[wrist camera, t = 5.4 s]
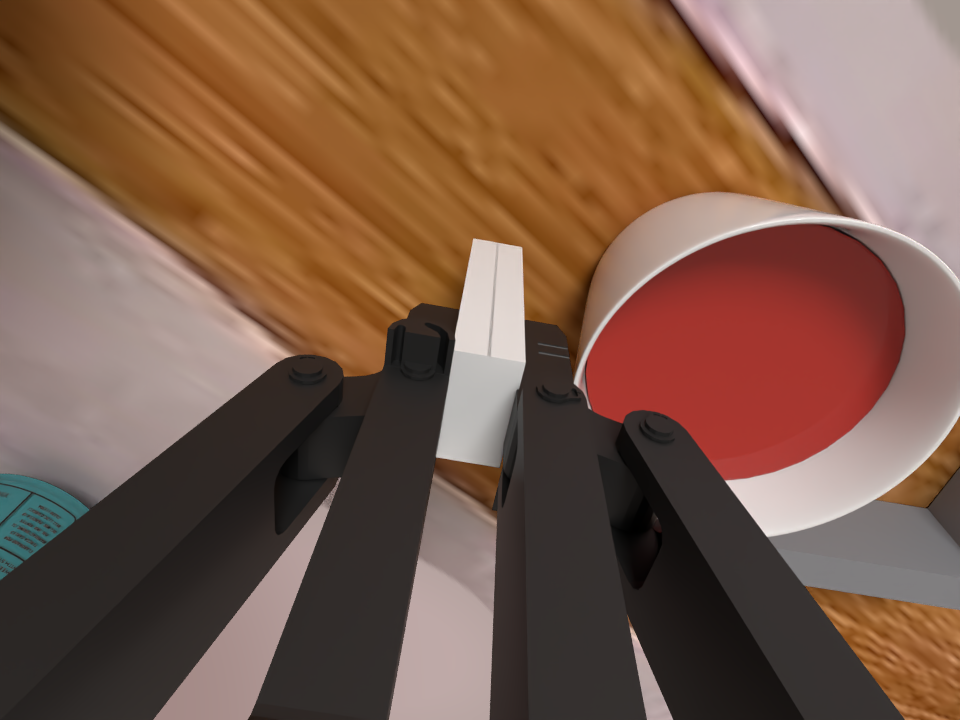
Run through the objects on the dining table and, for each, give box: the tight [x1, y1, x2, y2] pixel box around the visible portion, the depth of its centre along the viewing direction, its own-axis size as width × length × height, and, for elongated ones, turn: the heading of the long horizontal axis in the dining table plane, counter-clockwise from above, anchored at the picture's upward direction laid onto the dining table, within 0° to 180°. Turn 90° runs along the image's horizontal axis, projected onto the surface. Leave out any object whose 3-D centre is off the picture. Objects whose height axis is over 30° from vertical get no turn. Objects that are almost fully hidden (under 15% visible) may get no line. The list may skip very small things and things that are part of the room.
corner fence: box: [768, 468, 960, 610], centre depth 18 cm, size 18×14×4 cm
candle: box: [573, 192, 960, 537], centre depth 16 cm, size 9×9×6 cm
